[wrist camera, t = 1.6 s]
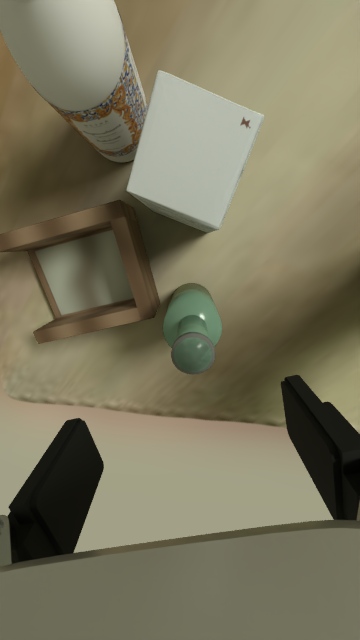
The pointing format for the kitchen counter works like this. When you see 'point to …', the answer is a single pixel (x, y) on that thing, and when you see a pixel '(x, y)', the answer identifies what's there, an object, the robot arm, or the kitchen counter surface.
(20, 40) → the bath foam
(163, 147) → the supplement box
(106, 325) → the walnut U-rest
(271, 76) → the kitchen counter surface
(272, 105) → the kitchen counter surface
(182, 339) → the green bottle
